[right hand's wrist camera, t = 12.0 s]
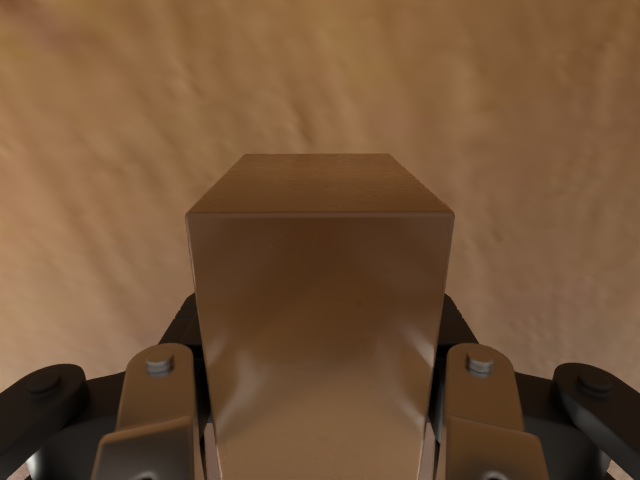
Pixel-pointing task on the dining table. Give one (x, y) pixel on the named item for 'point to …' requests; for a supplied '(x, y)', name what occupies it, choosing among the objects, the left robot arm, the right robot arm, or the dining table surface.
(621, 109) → the dining table surface
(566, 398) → the right robot arm
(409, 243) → the post
